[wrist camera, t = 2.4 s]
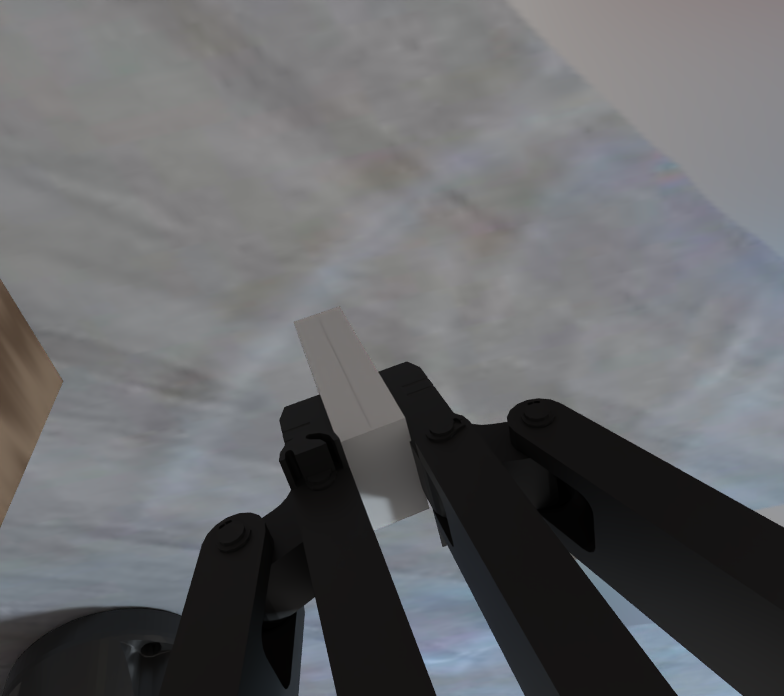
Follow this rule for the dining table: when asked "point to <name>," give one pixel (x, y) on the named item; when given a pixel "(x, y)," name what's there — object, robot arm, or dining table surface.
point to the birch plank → (21, 395)
